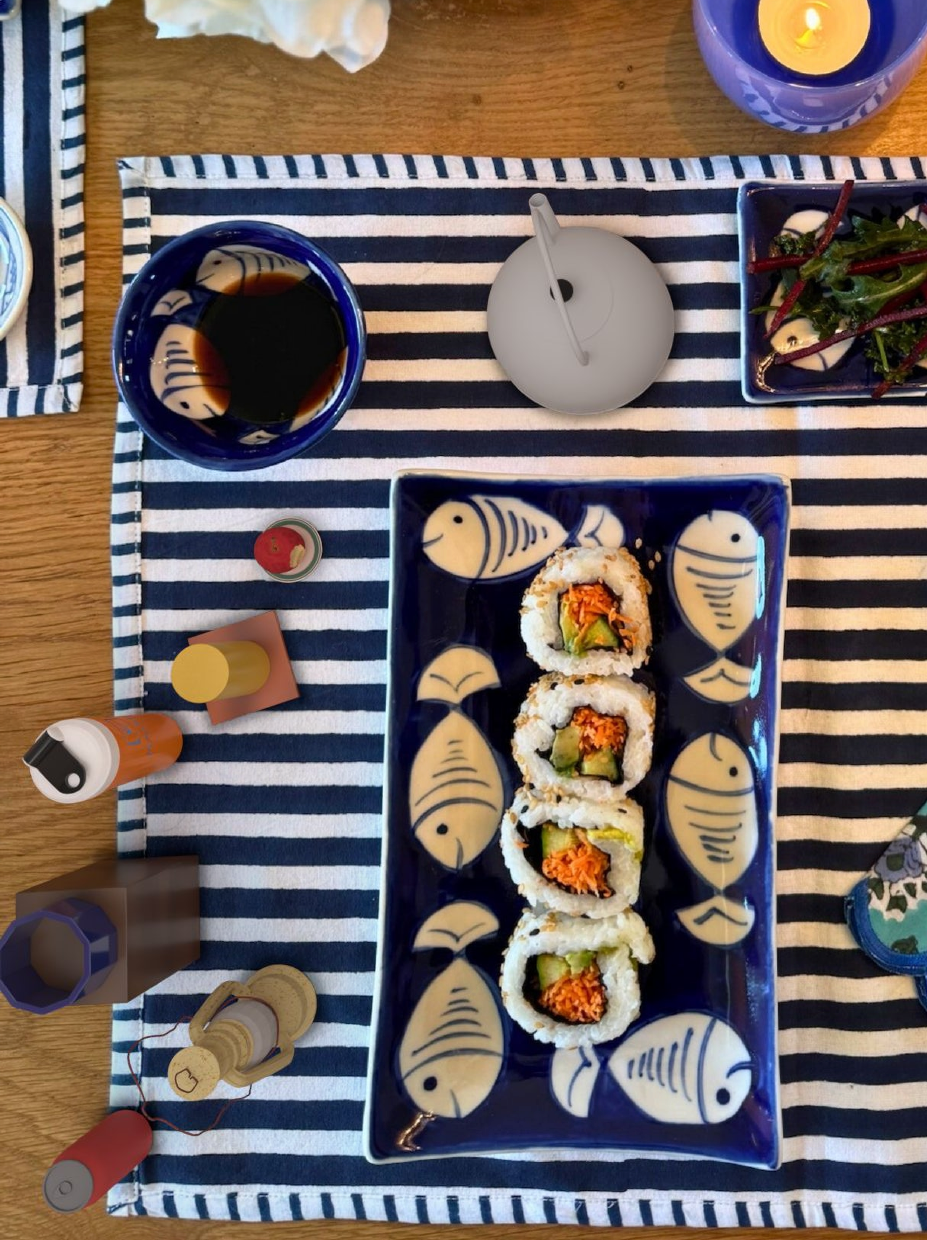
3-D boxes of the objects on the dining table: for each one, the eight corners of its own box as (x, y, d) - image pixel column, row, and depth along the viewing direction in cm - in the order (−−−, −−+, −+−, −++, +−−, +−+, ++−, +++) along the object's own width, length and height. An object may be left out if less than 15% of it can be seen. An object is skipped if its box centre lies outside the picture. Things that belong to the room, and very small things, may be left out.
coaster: (214, 725, 141) (211, 725, 141) (189, 638, 142) (187, 638, 142) (300, 696, 141) (298, 697, 141) (275, 610, 142) (273, 610, 142)
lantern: (212, 996, 138) (61, 1104, 108) (274, 938, 139) (140, 1029, 109) (278, 1073, 137) (143, 1203, 108) (340, 1014, 138) (223, 1128, 108)
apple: (313, 509, 143) (292, 504, 137) (331, 571, 143) (310, 569, 136) (251, 529, 143) (227, 525, 137) (268, 591, 143) (245, 590, 136)
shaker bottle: (164, 793, 141) (65, 824, 121) (103, 754, 141) (-5, 778, 121) (205, 730, 141) (113, 750, 121) (145, 691, 142) (44, 705, 122)
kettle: (466, 250, 146) (412, 185, 124) (638, 196, 146) (615, 122, 124) (522, 438, 144) (477, 407, 121) (697, 383, 144) (685, 342, 121)
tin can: (216, 696, 141) (170, 704, 130) (216, 642, 142) (170, 645, 131) (271, 693, 141) (229, 701, 130) (269, 639, 142) (228, 641, 131)
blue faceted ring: (24, 1001, 123) (-7, 1018, 118) (24, 900, 124) (-7, 912, 119) (118, 996, 123) (90, 1012, 118) (117, 894, 124) (90, 907, 119)
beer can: (89, 1129, 137) (24, 1179, 125) (136, 1095, 137) (76, 1142, 126) (118, 1177, 137) (57, 1232, 125) (165, 1143, 137) (108, 1195, 125)
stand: (101, 963, 139) (15, 1009, 123) (100, 860, 140) (14, 893, 124) (200, 957, 139) (127, 1003, 123) (199, 854, 140) (126, 886, 124)
